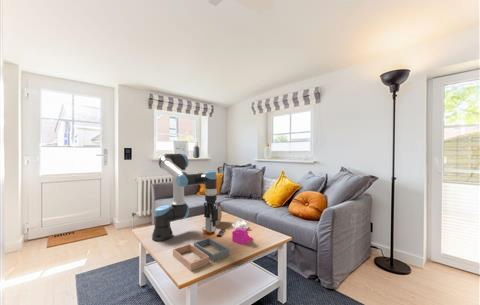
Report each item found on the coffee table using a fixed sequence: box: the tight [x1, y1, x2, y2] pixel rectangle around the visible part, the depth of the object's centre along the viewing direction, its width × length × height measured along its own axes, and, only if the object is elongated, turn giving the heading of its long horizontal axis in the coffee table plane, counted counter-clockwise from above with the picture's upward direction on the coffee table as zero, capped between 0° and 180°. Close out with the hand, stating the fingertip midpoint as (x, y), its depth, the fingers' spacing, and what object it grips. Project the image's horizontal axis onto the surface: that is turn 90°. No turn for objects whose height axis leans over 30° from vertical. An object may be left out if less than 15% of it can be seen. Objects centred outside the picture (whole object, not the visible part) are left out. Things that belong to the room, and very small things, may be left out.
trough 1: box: [172, 243, 210, 272], centre depth 130 cm, size 23×12×4 cm, turn 42°
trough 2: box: [193, 237, 230, 262], centre depth 140 cm, size 23×12×4 cm, turn 42°
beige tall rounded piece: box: [210, 202, 223, 227], centre depth 192 cm, size 17×9×23 cm, turn 164°
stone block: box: [205, 217, 217, 233], centre depth 140 cm, size 5×5×8 cm
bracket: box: [231, 228, 253, 246], centre depth 158 cm, size 12×10×10 cm
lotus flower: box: [231, 218, 249, 231], centre depth 180 cm, size 14×15×9 cm
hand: (210, 229), depth 140 cm, fingers closed on stone block, 5 cm apart
